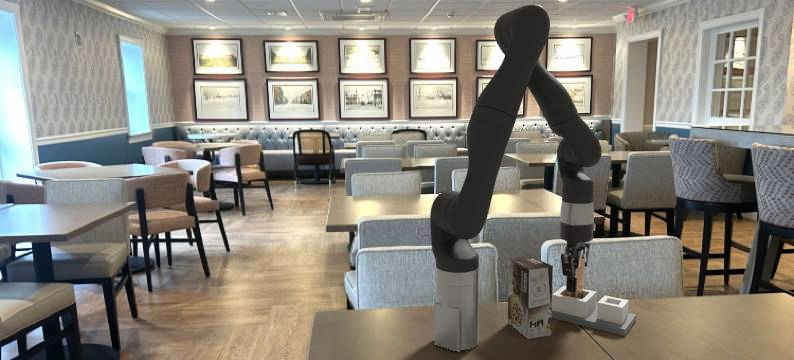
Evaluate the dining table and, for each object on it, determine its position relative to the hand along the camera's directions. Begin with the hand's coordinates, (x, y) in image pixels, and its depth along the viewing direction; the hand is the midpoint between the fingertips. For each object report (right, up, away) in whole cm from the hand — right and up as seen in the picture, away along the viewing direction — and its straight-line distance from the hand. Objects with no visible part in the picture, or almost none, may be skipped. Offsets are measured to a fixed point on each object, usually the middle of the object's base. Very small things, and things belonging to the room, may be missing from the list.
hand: (574, 288), depth 123 cm
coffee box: (-13, -8, -6) cm, 17 cm away
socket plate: (+4, -7, -2) cm, 8 cm away
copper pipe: (0, -4, +1) cm, 4 cm away
